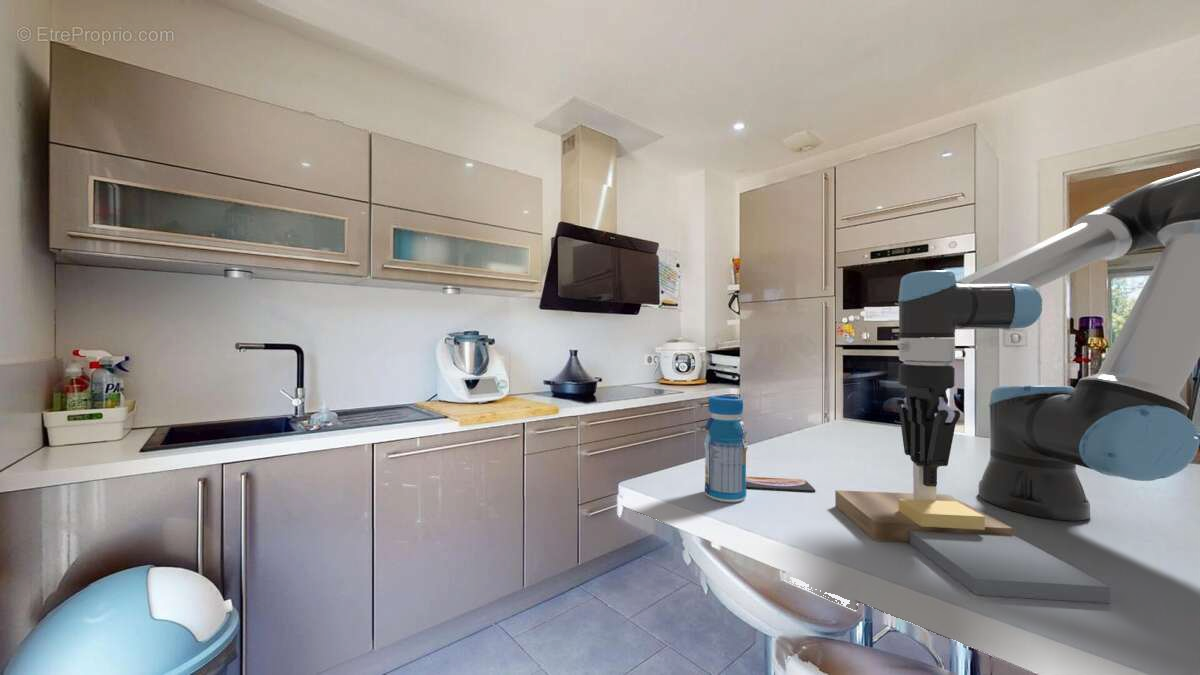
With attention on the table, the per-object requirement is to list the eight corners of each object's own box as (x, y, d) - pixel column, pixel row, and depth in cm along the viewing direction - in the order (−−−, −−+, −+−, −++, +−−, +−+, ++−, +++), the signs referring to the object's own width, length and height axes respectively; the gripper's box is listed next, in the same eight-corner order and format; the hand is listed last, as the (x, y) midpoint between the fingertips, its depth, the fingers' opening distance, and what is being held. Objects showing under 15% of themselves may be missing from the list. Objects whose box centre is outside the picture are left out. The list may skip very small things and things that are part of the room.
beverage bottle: (721, 506, 81) (722, 401, 81) (695, 491, 89) (695, 395, 89) (756, 500, 84) (756, 399, 84) (728, 486, 92) (728, 393, 92)
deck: (948, 510, 79) (948, 494, 79) (1013, 547, 65) (1013, 528, 65) (835, 506, 81) (835, 490, 81) (874, 540, 67) (874, 521, 67)
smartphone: (736, 475, 98) (805, 479, 96) (736, 479, 98) (805, 483, 96) (742, 486, 91) (817, 490, 88) (742, 490, 91) (817, 494, 88)
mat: (1014, 548, 65) (1014, 535, 65) (1109, 603, 52) (1109, 586, 52) (909, 543, 67) (909, 530, 67) (975, 594, 53) (975, 578, 53)
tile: (956, 513, 71) (956, 501, 71) (984, 529, 65) (984, 516, 65) (898, 510, 72) (898, 498, 72) (921, 526, 66) (921, 513, 66)
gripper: (881, 361, 79) (880, 488, 79) (926, 365, 66) (925, 517, 66) (925, 361, 78) (923, 490, 78) (979, 366, 65) (978, 520, 65)
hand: (924, 502), depth 72 cm, fingers closed
